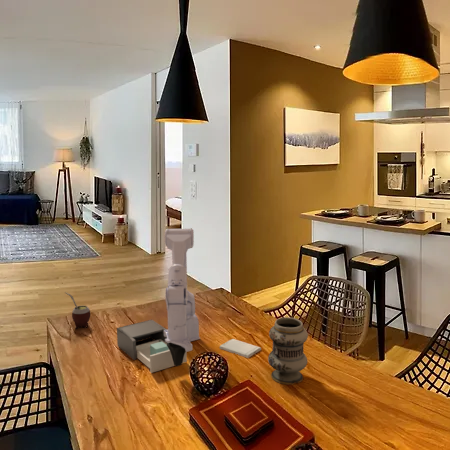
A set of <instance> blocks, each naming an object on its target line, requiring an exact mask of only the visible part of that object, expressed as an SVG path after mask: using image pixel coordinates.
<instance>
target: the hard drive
mask: <svg viewBox="0 0 450 450" xmlns="http://www.w3.org/2000/svg"><path fill="white" fill-rule="evenodd" d="M219 349H220V350H223V351H226V352H229V353H231V354H234V353H235V354H234V355H237V354H238V356H241V357H244V358H247V359H249V358H251V357H252V356H253V355H255V354H256V353H259V352H260V351H261V350H262V347H260V346H258V345H253V344H251V343H248V342H245V341H243V340H242V341H241V340H238V339H235V338H232V339H228V340H227V341H226V342H225V343H222V344H221V345H219Z"/></svg>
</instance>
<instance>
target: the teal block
mask: <svg viewBox="0 0 450 450" xmlns="http://www.w3.org/2000/svg"><path fill="white" fill-rule="evenodd" d="M167 350H168V347H167V345H166V344H165V343H163V342H158V343H154V344H151V345H150V355H153V354H156V353H160V352H163V351H167Z"/></svg>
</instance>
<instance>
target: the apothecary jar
mask: <svg viewBox="0 0 450 450" xmlns="http://www.w3.org/2000/svg"><path fill="white" fill-rule="evenodd" d="M307 331H308V330H306V328H304V324H303V322H302V321H301V320H300V319H298V318H295V317H288V316H287V317H279V318H277V319H276V320H275V321H274V325H273V326H272V327H271V328H270V330H269V331H268V336H269V339H271V341H272V350H271V351H270V352H269V354H268V357H267V361H268V364H269V365H270V367H271V368H273V369H274V370H273V371H272V373H271V374H270V376H271V378H272V380H273V381H275V382H276V383H279V384H281V385H294V384H300V383H301V382H302V381H303V379H304V376H303V374H302V373H301V371H303V370H304V369H305V368H306V367H307V364H308V357H307V356H306V354H305V353H304V345H305V344H304V343H306V342H307V340H308V337H309V334H308V332H307Z"/></svg>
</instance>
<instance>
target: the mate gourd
mask: <svg viewBox="0 0 450 450" xmlns="http://www.w3.org/2000/svg"><path fill="white" fill-rule="evenodd" d="M64 294H67V295H68V296H69V297H70V299H71V300H72V303H73V304H74V306H75V307H74V308H73V309H72V313H71V318H72V321H73V322H74V325H75V330H78V329H80V328H84V329H89V328H88V325H89V321H90V319H91V310H90V308H89V307H88V306H87V305H77V303H76V301H75V299H74V296H72V295H71V294H70V293H68V292H66V291H65V292H64Z"/></svg>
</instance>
